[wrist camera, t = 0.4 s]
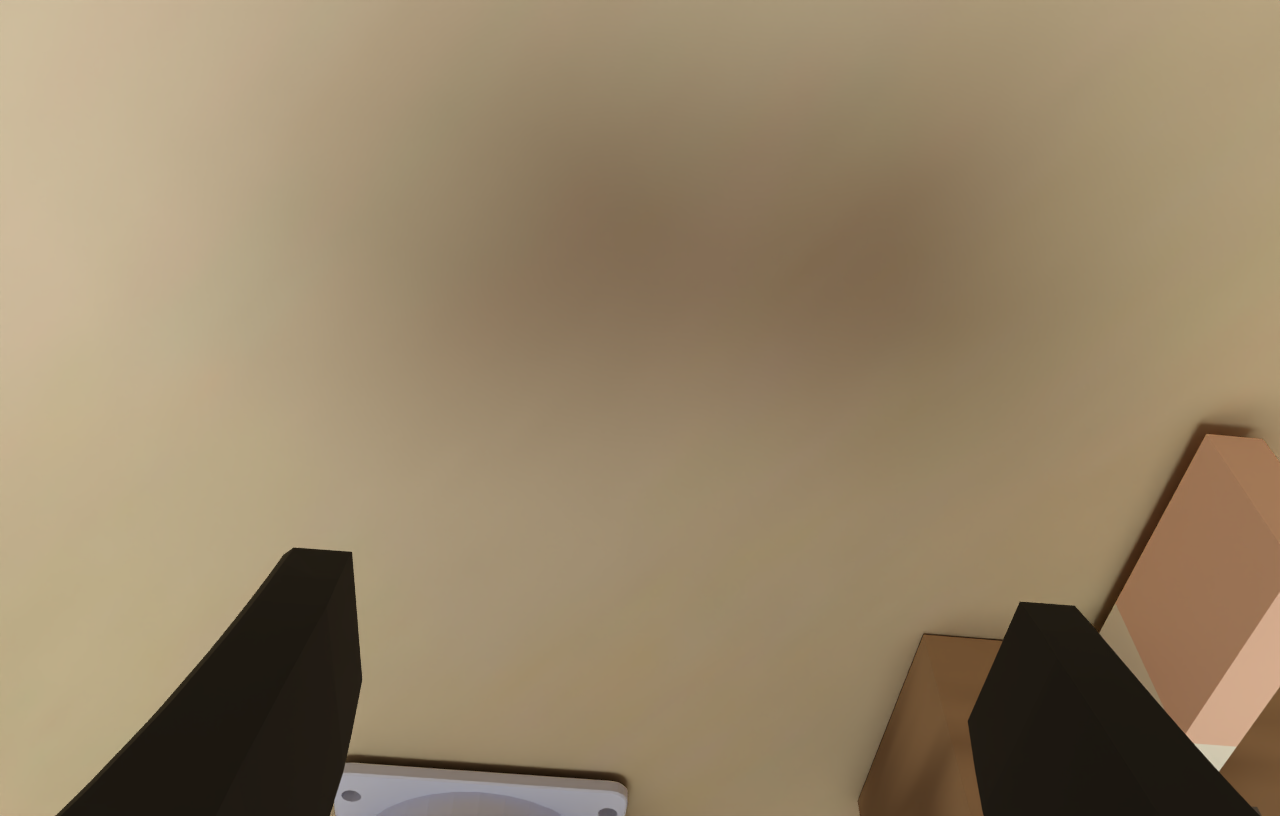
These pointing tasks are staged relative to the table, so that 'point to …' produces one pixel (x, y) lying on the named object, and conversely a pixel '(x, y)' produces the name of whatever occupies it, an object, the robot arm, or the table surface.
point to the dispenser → (942, 754)
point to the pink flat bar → (1209, 597)
